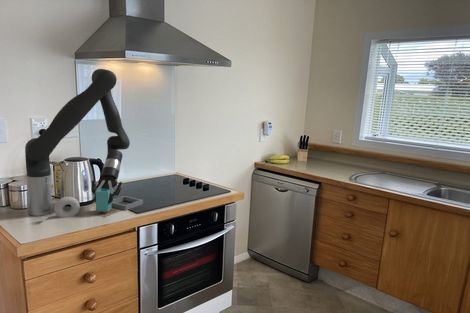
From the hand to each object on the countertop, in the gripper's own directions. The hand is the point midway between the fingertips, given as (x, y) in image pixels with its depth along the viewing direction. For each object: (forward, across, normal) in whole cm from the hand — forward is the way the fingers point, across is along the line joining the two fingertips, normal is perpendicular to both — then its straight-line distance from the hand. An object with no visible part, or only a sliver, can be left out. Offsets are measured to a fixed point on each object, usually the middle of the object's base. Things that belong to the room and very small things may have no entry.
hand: (102, 202), depth 155 cm
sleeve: (+2, 0, +4) cm, 4 cm away
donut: (+8, -13, +2) cm, 16 cm away
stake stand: (+3, 0, +6) cm, 7 cm away
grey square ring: (-5, +6, +14) cm, 16 cm away
